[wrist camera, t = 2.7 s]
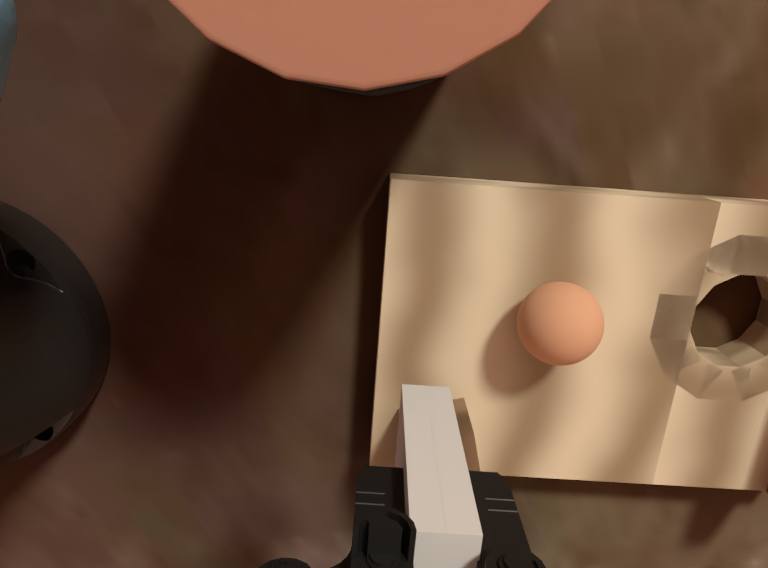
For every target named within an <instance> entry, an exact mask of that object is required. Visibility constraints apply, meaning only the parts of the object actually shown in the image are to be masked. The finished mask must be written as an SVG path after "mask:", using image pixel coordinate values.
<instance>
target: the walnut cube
mask: <svg viewBox="0 0 768 568" xmlns="http://www.w3.org/2000/svg"><path fill="white" fill-rule="evenodd" d="M453 405H454V409H455V414H456V418H457V422H458V427H459V431H460V436H461V440H462V445H463V449H464V453H465V458H466V462H467V467H468V471H480V466H479V460H478V454H477V448H476V442H475V436H474V432H473V428H472V424H471V421H470V417H469V414H468V410H467V407H466V403H465V399H464V398H459V399H453ZM399 410H400V409H398V421H399Z"/></svg>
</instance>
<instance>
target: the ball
mask: <svg viewBox="0 0 768 568" xmlns="http://www.w3.org/2000/svg"><path fill="white" fill-rule="evenodd" d="M517 330H518V335H519V337H520V340H521V342H522V344H523V345H524V347H525V348H526V349H527V351H528V352H529V353H530V354H531V355H533V356H534V357H535V358H537V359H538V360H540V361H542V362H545V363H547V364H551V365H557V366H565V365H572V364H575V363H578V362H580V361H582V360H584V359H586V358H587V357H589V356H590V355H591V354H592V353H593V352H594V351H595V350H596V348H597V347H598V345H599V344H600V342H601V339H602V336H603V333H604V316H603V313H602V310H601V307H600V305H599V303H598V302H597V300H596V299H595V298H594V297H593V296H592V295H591V293H589V292H588V291H587V290H585V289H584V288H582V287H580V286H578V285H576V284H572V283H569V282H551V283H547V284H544V285H541V286H539V287H537V288H536V289H534V290H533V291H532V292H531V293H529V294H528V295H527V297H526V298H525V299H524V301H523V302H522V304H521V306H520V309H519V311H518V315H517Z"/></svg>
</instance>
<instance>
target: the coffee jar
mask: <svg viewBox="0 0 768 568" xmlns="http://www.w3.org/2000/svg"><path fill="white" fill-rule="evenodd" d="M167 1H168V2H169V3H170V4H171V5H172V6H174V7H175V8H176V9H177V10H178V11H179V12H180V13H181V14H182V15H183V16H184V17H185V18H186V19H187V20H188V21H189V22H190V23H191V24H192V25H193V26H194V27H195V28H196V29H197V30H199V31H200V32H201V33H202V34H203V35H204V36H205V37H206V38H207V39H208V40H209V41H211V42H213V43H215V44H217V45H219V46H221V47H223V48H225V49H227V50H229V51H231V52H233V53H235V54H237V55H239V56H241V57H243V58H245V59H247V60H249V61H251V62H253V63H254V64H256V65H258V66H260V67H262V68H264V69H266V70H268V71H270V72H272V73H274V74H276V75H278V76H280V77H282V78H284V79H289V80H296V81H298V82H300V83H303V84H307V85H312V86H317V87H322V88H326V89H331V90H336V91H341V92H347V93H354V94H361V95H367V96H374V97H375V96H380V95H386V94H391V93H397V92H402V91H407V90H411V89H414V88H416V87H419V86H422V85H424V84H427V83H430V82H433V81H435V80H437V79H438V78H440V77H443V76H446V75H448V74H450V73H451V72H453V71H455V70H457V69H459V68H460V67H462V66H464V65H466V64H468V63H469V62H471V61H473V60H475V59H477V58H478V57H480V56H482V55H484V54H486V53H488V52H489V51H491V50H493V49H495V48H497V47H498V46H500V45H502V44H504V43H506V42H507V41H509V40H511V39H513V38H515V37H516V36H518V35H520V33H521V32H522V31H523V30H524V29H525V28H526V27H527V26H528V25H529V24H530V23H531V22H532V21H533V20H534V19H535V18H536V17H537V16H538V15H539V14H540V13H541V12H542V11H543V9H544V8H545V7H546V6H547V5H548V4H549V3H550V2H551V1H552V0H167Z"/></svg>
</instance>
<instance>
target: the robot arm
mask: <svg viewBox="0 0 768 568" xmlns="http://www.w3.org/2000/svg"><path fill="white" fill-rule="evenodd" d="M17 28H18V24H17V13H16V8H15V4H14V1H13V0H0V102H1V98H2V94H3V90H4V86H5V82H6V78H7V74H8V70H9V66H10V63H11V59H12V55H13V51H14V47H15V43H16V39H17ZM109 349H110V337H109V327H108V321H107V316H106V313H105V309H104V306H103V303H102V300H101V297H100V295H99V293H98V290H97V288H96V286H95V284H94V282H93V280H92V278H91V277H90V275H89V274H88V272H87V270H86V269H85V267H84V266H83V265H82V263H81V262H80V260H79V259H78V258H77V257H76V255H75V254H74V253H73V252H72V251H71V250H70V248H69V247H68V246H67V245H66V244H65V243H64V242H63V241H62V240H61V239H60V238H59V237H58V236H56V235H55V234H54V233H53V232H52V231H50V230H49V229H48V228H47V227H45V226H44V225H43V224H41V223H40V222H39V221H37V220H36V219H34V218H32V217H31V216H29V215H28V214H26V213H24V212H22V211H20V210H19V209H17V208H15V207H12V206H10V205H8V204H6V203H3V202H1V201H0V467H2V466H5V465H7V464H9V463H11V462H14V461H16V460H18V459H21V458H23V457H26V456H28V455H30V454H32V453H34V452H36V451H38V450H40V449H41V448H43V447H44V446H46V445H48V444H49V443H50V442H52V441H53V440H54V439H56V438H57V437H58V436H60V435H61V434H62V433H63V432H64V431H65V430H66V429H67V428H68V427H69V426H70V425H71V424H72V423H73V422H74V421H75V420H76V419H77V418H78V417H79V416H80V415H81V413H82V412H83V411H84V410H85V409H86V408H87V407H88V406H89V404H90V403H91V402H92V400H93V399H94V397H95V396H96V394H97V392H98V390H99V388H100V386H101V384H102V382H103V379H104V376H105V373H106V369H107V365H108V359H109ZM259 568H311V567H310V566H309V565H308V564H307V563H304V562H302V561H300V560H298V559H293V558H280V559H275V560H271V561H269V562H267V563H265V564H263V565H261V566H260V567H259ZM331 568H546V567H545V566H544V564H543V562H542V561H541V560H540V559H539V558H538V557H537V556H535V555H534V554H533V553H531V550H530V547H529V544H528V541H527V538H526V535H525V532H524V529H523V526H522V523H521V520H520V516H519V513H517V507H516V504H515V501H514V498H513V495H512V492H511V489H510V486H509V484H508V483H507V482H506V481H505V480H504V479H503V478H502V477H501V475H500V474H499V473H498V472H483V471H468V467H467V462H466V458H465V453H464V449H463V445H462V440H461V436H460V431H459V427H458V422H457V418H456V414H455V409H454V405H453V400H452V396H451V391H450V387H439V386H423V385H408V384H402V387H401V399H400V410H399V421H398V432H397V444H396V455H395V467H382V466H365V468H364V469H363V470H362V471H361V473H360V474H359V475H358V477H357V489H356V502H355V516H354V526H353V538H352V548H351V551H350V553H349V554H348V556H347V557H346V558H345V559H344V560H343V561H342V562H341V563H339V564H337V565H335V566H334V567H331Z"/></svg>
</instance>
